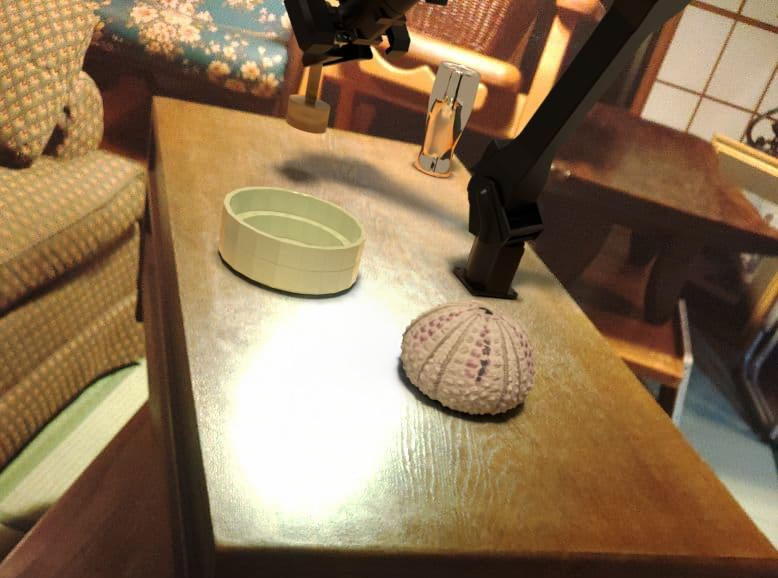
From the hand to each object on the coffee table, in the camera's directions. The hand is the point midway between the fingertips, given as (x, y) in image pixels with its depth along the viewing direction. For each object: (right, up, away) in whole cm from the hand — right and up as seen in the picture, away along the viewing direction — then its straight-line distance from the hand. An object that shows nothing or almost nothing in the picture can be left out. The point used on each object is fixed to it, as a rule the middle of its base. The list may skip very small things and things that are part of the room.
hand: (308, 63), depth 97 cm
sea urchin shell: (+17, -47, -25) cm, 56 cm away
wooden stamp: (-1, -6, +4) cm, 7 cm away
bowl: (-1, -32, -15) cm, 35 cm away
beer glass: (+18, -1, +27) cm, 32 cm away
